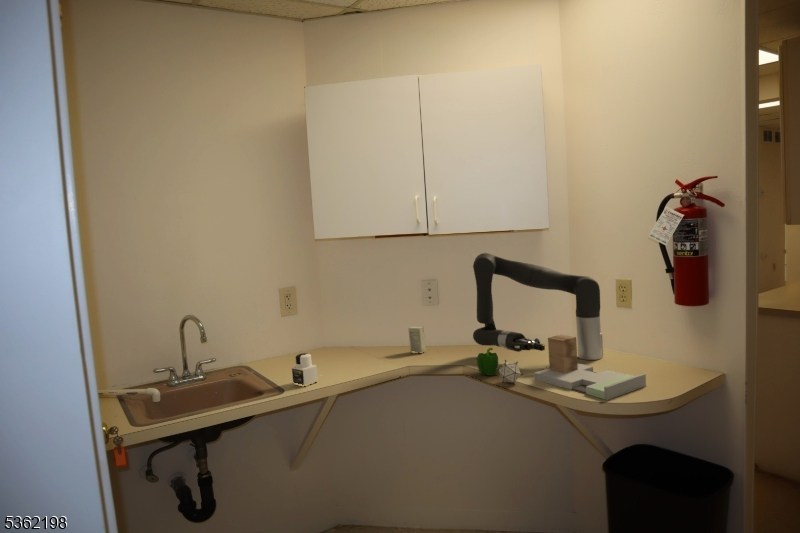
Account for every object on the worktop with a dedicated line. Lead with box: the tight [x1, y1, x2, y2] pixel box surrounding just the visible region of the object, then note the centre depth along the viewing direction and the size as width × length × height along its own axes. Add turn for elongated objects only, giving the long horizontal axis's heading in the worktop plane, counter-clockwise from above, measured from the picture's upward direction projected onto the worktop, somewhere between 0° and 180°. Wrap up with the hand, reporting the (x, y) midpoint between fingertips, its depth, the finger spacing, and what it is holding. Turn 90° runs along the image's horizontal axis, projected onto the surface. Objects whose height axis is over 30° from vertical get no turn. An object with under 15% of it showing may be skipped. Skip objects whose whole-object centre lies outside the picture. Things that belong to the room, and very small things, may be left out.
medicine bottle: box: [291, 352, 319, 385], centre depth 204 cm, size 7×7×12 cm
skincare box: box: [407, 326, 427, 352], centre depth 241 cm, size 6×4×12 cm
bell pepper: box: [476, 347, 499, 376], centre depth 199 cm, size 8×8×10 cm
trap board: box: [533, 362, 647, 401], centre depth 180 cm, size 20×31×4 cm, turn 31°
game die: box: [496, 359, 524, 386], centre depth 186 cm, size 9×8×10 cm
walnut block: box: [547, 334, 578, 374], centre depth 188 cm, size 7×7×12 cm
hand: (543, 347), depth 196 cm, fingers closed
